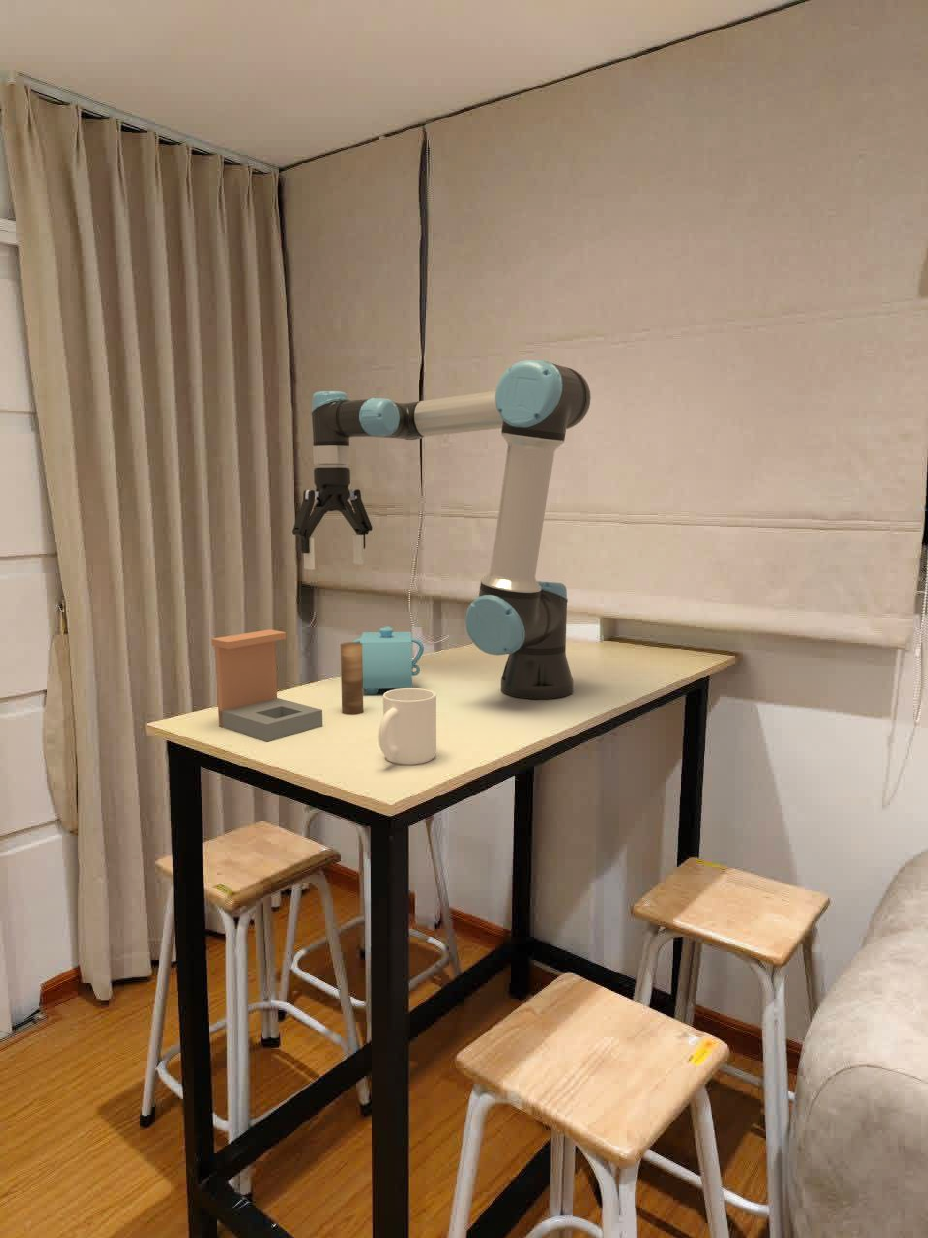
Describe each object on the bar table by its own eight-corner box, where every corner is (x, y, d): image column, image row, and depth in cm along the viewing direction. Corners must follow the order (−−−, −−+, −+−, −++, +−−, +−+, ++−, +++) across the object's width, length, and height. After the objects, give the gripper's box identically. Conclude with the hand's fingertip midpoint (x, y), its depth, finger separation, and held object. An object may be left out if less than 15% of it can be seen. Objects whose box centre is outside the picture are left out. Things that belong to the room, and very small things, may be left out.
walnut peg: (367, 711, 162) (366, 644, 160) (352, 715, 159) (350, 647, 157) (353, 707, 165) (352, 641, 162) (337, 712, 162) (336, 644, 159)
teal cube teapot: (424, 695, 174) (424, 633, 172) (347, 696, 173) (346, 633, 171) (422, 675, 192) (422, 618, 190) (353, 676, 191) (351, 619, 189)
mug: (402, 776, 127) (401, 709, 125) (358, 766, 131) (357, 701, 129) (446, 754, 137) (445, 692, 135) (403, 746, 141) (403, 685, 139)
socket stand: (323, 725, 153) (321, 638, 150) (265, 742, 143) (262, 649, 140) (273, 711, 162) (270, 629, 159) (215, 725, 152) (211, 638, 150)
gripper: (364, 467, 193) (366, 561, 196) (272, 466, 175) (276, 569, 178) (387, 466, 188) (388, 563, 191) (294, 465, 170) (298, 572, 173)
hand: (334, 566), depth 185 cm, fingers open, 13 cm apart
